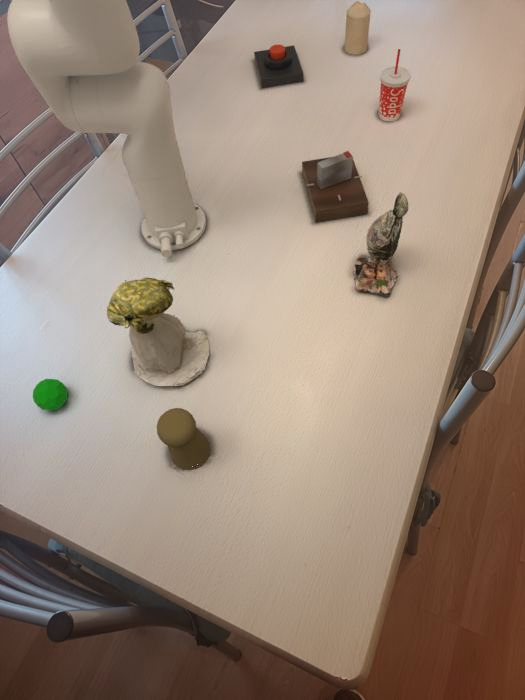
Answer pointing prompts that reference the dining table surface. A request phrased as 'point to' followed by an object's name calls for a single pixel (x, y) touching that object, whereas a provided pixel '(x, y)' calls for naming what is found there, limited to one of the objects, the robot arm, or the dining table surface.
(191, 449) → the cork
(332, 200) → the dial knob base
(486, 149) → the dining table surface
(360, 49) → the candle
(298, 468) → the dining table surface
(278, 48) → the button
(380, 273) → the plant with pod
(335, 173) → the grey flat block
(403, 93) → the beverage cup
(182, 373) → the mushroom figurine
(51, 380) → the polyhedron
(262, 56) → the button box
